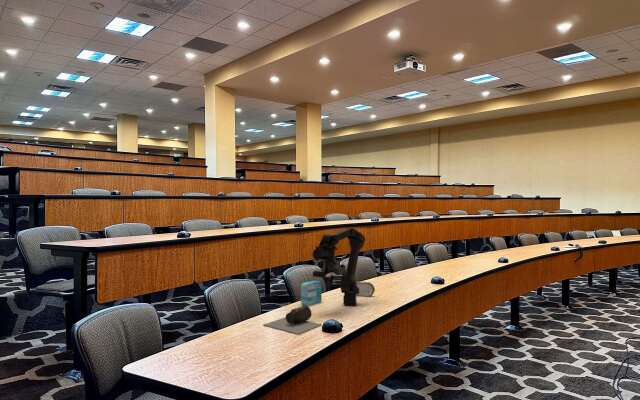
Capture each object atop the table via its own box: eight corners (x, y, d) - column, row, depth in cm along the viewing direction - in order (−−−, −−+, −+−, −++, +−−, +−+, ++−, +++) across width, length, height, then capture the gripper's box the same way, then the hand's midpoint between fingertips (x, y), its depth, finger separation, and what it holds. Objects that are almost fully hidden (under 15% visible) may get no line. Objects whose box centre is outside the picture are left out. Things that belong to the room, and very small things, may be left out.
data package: (306, 306, 225) (306, 284, 225) (300, 305, 228) (300, 283, 228) (321, 302, 234) (321, 280, 234) (316, 301, 237) (315, 280, 237)
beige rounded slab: (374, 296, 246) (374, 282, 246) (373, 297, 243) (373, 283, 243) (350, 294, 251) (349, 280, 251) (348, 296, 248) (348, 281, 248)
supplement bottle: (299, 311, 202) (281, 316, 193) (306, 302, 199) (288, 307, 190) (307, 322, 199) (289, 328, 190) (314, 314, 196) (296, 319, 187)
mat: (287, 317, 205) (287, 316, 205) (322, 325, 191) (322, 324, 191) (263, 325, 193) (263, 324, 193) (298, 334, 179) (298, 333, 179)
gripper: (328, 261, 201) (327, 294, 201) (353, 259, 215) (352, 289, 214) (312, 259, 209) (311, 290, 209) (337, 257, 223) (336, 286, 222)
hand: (328, 289), depth 213 cm, fingers closed
